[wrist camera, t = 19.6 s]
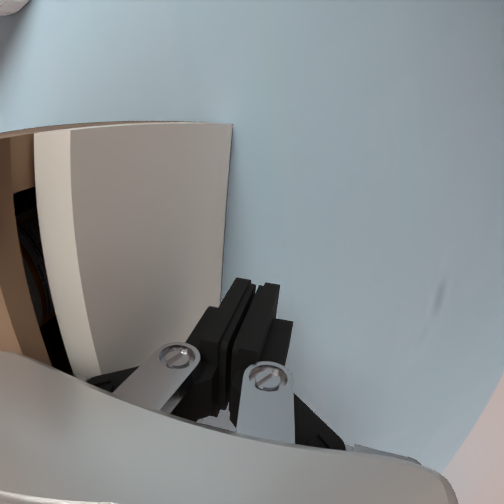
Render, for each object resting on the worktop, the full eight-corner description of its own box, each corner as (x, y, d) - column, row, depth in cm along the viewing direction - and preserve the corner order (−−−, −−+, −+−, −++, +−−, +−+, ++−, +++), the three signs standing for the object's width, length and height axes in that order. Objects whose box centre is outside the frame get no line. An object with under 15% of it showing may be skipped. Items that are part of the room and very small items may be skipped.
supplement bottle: (63, 258, 20) (-44, 330, 11) (63, 181, 18) (-70, 234, 8) (125, 283, 19) (15, 384, 10) (130, 199, 17) (-18, 275, 8)
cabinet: (35, 127, 18) (-119, 165, 6) (209, 122, 16) (-20, 142, 4) (51, 291, 23) (-56, 377, 12) (200, 336, 21) (103, 498, 9)
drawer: (48, 126, 18) (-94, 156, 7) (232, 124, 15) (70, 130, 5) (64, 297, 23) (-32, 377, 13) (218, 343, 21) (143, 487, 10)
